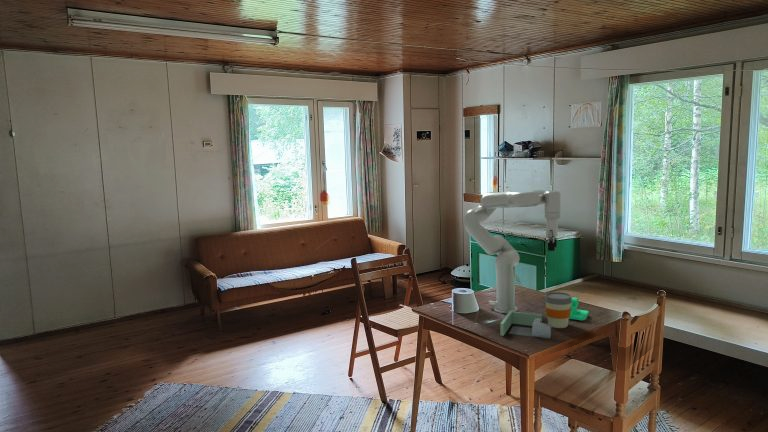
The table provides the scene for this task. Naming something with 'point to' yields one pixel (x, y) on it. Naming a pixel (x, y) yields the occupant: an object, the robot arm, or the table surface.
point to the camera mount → (577, 311)
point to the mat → (521, 331)
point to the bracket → (541, 329)
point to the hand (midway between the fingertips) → (552, 248)
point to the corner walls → (517, 320)
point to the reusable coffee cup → (558, 308)
